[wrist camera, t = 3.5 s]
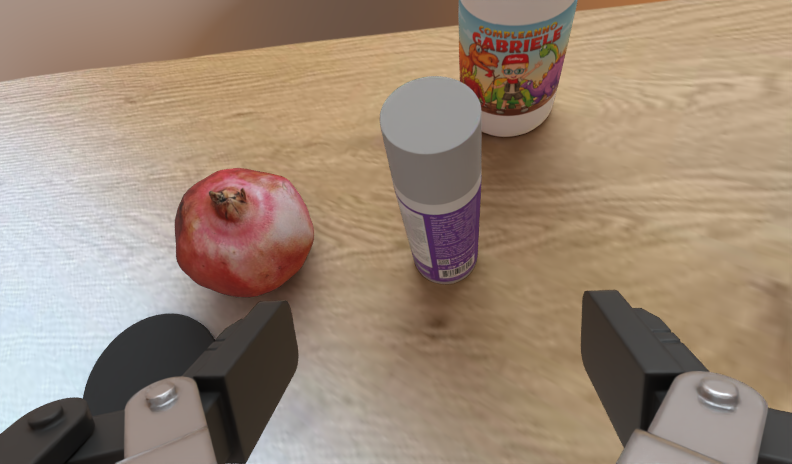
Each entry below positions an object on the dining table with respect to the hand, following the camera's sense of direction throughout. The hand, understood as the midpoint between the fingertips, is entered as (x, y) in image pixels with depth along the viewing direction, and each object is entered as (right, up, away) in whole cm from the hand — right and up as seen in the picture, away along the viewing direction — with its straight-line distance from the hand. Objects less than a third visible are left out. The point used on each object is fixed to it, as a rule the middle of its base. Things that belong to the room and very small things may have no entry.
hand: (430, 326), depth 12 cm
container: (+3, +1, +20) cm, 21 cm away
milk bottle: (+9, +14, +26) cm, 31 cm away
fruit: (-11, +1, +23) cm, 25 cm away
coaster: (-18, -8, +19) cm, 27 cm away
